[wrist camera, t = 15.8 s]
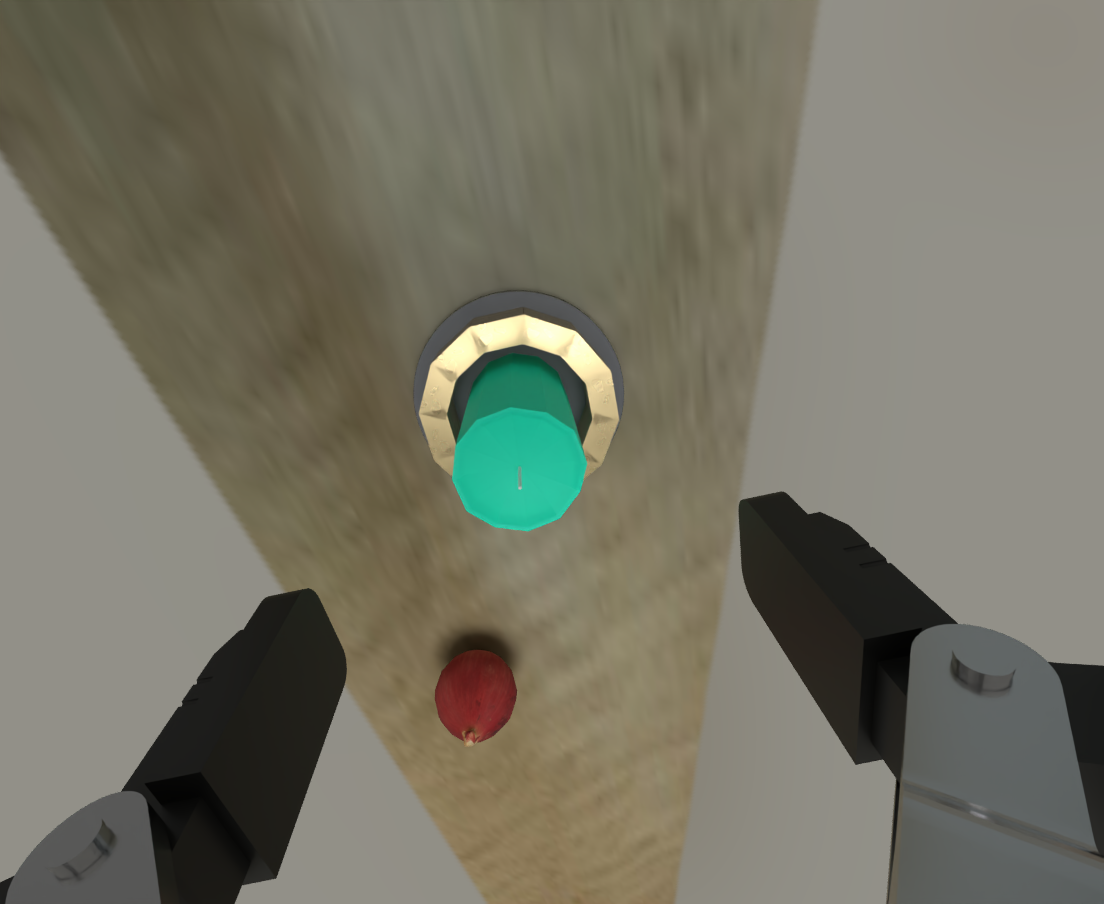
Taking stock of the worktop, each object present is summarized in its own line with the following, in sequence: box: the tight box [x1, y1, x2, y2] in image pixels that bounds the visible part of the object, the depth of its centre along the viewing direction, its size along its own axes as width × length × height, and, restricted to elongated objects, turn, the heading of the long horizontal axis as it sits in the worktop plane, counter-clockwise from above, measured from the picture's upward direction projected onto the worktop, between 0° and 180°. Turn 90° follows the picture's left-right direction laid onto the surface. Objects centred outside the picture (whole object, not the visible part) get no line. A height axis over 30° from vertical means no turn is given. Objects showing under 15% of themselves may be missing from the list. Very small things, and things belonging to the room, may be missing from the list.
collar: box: [419, 307, 619, 480], centre depth 32 cm, size 11×11×3 cm
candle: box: [452, 353, 587, 531], centre depth 27 cm, size 6×6×12 cm
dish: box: [414, 290, 624, 444], centre depth 33 cm, size 13×13×1 cm
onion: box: [435, 650, 517, 746], centre depth 38 cm, size 6×6×8 cm
